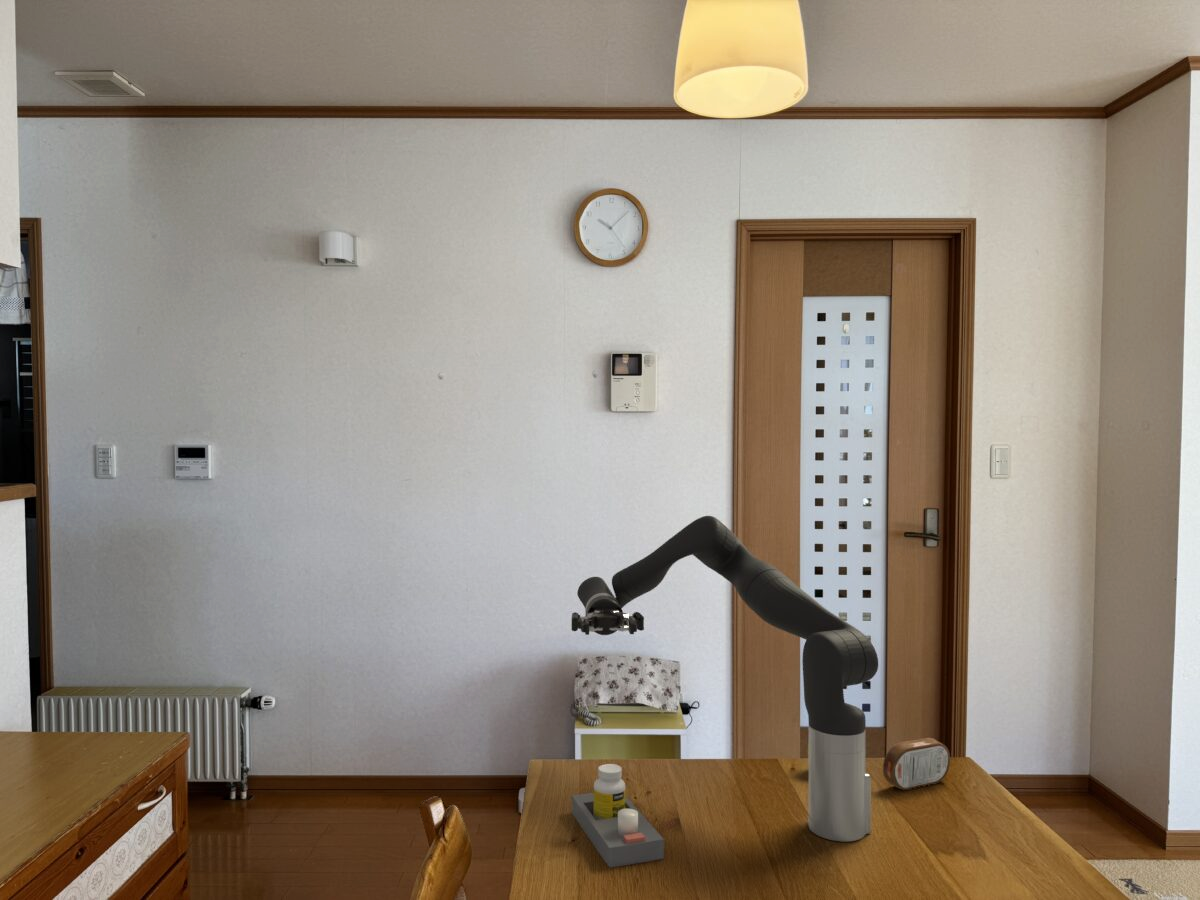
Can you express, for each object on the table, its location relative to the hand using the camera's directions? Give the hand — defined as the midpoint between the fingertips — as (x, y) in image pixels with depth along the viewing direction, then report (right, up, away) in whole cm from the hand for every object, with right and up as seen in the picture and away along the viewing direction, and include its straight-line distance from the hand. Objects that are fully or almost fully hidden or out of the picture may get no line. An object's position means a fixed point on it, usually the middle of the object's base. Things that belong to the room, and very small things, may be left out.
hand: (610, 629), depth 151 cm
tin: (+59, -31, +2) cm, 66 cm away
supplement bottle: (0, -30, -16) cm, 34 cm away
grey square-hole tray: (+1, -30, -19) cm, 35 cm away
